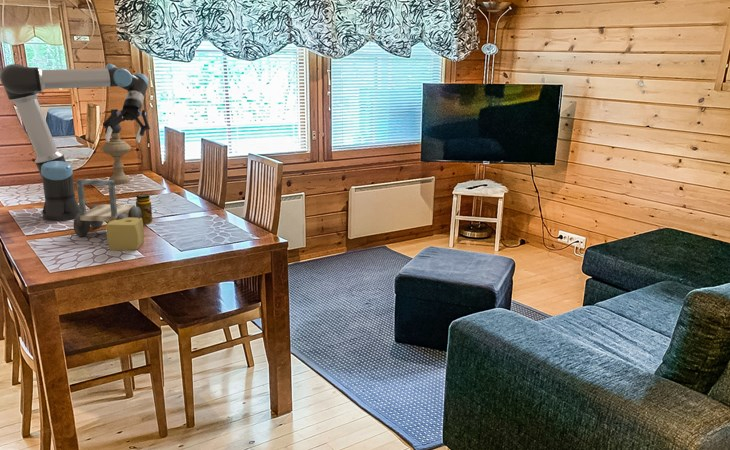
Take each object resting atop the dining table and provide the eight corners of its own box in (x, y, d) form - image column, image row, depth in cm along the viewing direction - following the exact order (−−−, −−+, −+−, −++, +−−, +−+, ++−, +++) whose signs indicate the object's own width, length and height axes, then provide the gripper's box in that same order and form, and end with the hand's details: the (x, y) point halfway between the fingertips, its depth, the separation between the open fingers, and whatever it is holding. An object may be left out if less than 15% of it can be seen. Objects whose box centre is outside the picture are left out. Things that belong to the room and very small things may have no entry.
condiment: (155, 223, 244) (152, 196, 241) (134, 225, 240) (131, 197, 237) (151, 219, 250) (149, 192, 247) (130, 221, 246) (128, 194, 243)
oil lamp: (139, 182, 320) (133, 110, 309) (112, 186, 309) (105, 111, 298) (125, 178, 330) (119, 108, 319) (100, 182, 319) (92, 109, 308)
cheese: (117, 242, 219) (114, 216, 216) (146, 242, 220) (144, 217, 217) (107, 250, 209) (105, 224, 206) (138, 250, 210) (136, 224, 207)
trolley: (75, 238, 221) (68, 180, 214) (100, 223, 241) (94, 170, 235) (121, 240, 221) (116, 182, 214) (142, 225, 241) (138, 171, 234)
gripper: (102, 96, 257) (90, 134, 247) (158, 98, 257) (147, 136, 247) (109, 107, 264) (97, 144, 254) (163, 109, 264) (153, 146, 253)
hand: (122, 140), depth 250 cm, fingers open, 13 cm apart
